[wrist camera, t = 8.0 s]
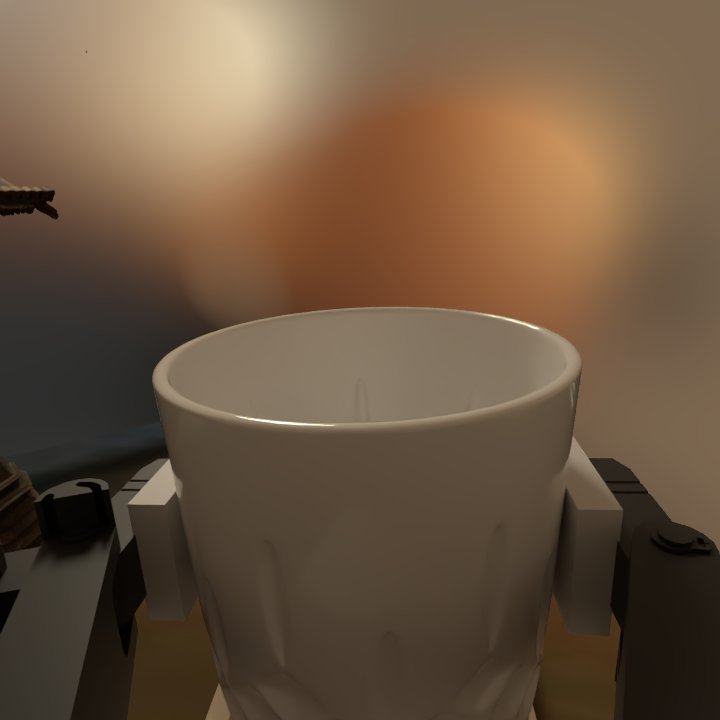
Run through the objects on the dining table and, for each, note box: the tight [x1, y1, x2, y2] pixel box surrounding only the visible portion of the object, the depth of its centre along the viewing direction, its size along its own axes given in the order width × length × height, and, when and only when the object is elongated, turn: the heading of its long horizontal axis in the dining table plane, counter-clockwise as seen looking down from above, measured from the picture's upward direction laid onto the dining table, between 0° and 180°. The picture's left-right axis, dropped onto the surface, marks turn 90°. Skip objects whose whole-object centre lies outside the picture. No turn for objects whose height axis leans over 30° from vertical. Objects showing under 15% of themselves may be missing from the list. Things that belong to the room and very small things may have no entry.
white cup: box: [152, 307, 582, 720], centre depth 12 cm, size 8×8×10 cm
